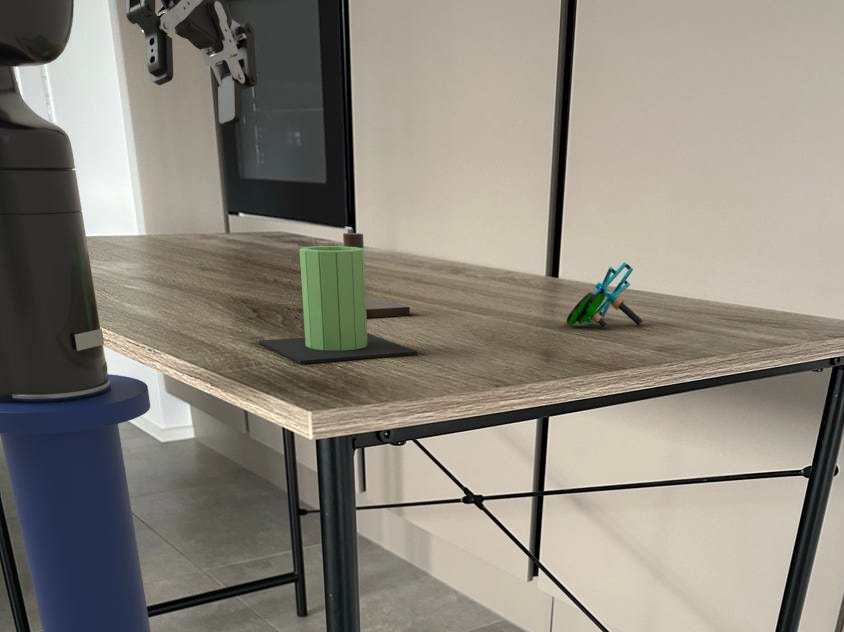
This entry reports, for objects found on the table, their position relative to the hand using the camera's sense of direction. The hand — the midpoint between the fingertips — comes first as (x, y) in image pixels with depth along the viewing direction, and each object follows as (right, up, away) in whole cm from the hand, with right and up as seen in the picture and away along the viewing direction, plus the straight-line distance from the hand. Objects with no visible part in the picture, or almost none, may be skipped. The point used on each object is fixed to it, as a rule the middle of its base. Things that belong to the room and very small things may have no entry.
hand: (197, 103), depth 90 cm
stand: (+12, -10, +27) cm, 32 cm away
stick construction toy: (+42, -14, +22) cm, 49 cm away
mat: (+13, -22, +4) cm, 26 cm away
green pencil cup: (+13, -22, +4) cm, 26 cm away
